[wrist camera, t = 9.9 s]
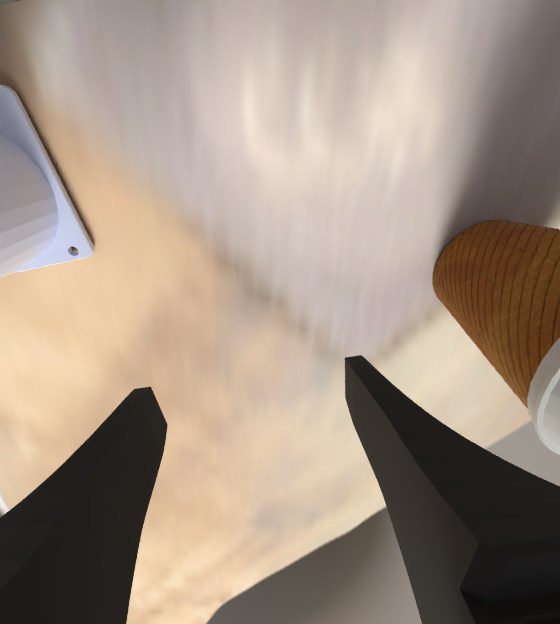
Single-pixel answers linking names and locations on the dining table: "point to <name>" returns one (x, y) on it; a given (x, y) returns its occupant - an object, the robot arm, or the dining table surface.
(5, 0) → the panel
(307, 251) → the dining table surface
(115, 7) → the dining table surface
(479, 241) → the disposable coffee cup
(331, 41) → the dining table surface
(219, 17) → the dining table surface
